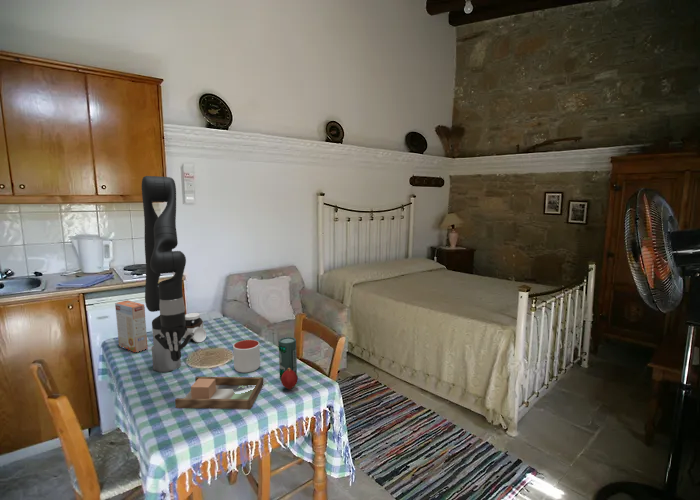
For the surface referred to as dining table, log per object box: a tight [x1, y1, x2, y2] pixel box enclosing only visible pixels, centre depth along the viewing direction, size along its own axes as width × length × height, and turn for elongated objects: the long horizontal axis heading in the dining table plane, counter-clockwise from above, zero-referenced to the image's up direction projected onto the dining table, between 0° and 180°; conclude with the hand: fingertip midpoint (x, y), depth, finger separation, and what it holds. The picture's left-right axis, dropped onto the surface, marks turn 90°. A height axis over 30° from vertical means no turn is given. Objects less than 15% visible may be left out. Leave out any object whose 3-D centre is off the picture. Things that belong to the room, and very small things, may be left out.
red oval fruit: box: [280, 368, 299, 391], centre depth 136 cm, size 6×6×8 cm
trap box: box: [174, 376, 264, 410], centre depth 131 cm, size 24×16×3 cm, turn 88°
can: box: [278, 336, 298, 382], centre depth 143 cm, size 6×6×15 cm
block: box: [190, 379, 216, 399], centre depth 132 cm, size 6×6×4 cm
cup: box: [232, 339, 261, 374], centre depth 152 cm, size 10×10×10 cm
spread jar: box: [182, 312, 207, 343], centre depth 183 cm, size 12×11×12 cm
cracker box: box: [114, 299, 149, 353], centre depth 172 cm, size 14×6×21 cm, turn 58°
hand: (176, 360), depth 130 cm, fingers closed
